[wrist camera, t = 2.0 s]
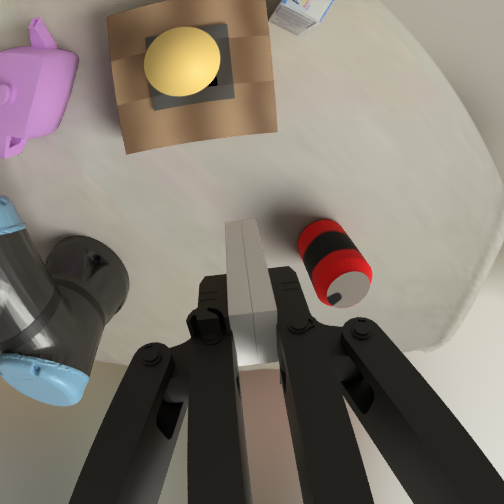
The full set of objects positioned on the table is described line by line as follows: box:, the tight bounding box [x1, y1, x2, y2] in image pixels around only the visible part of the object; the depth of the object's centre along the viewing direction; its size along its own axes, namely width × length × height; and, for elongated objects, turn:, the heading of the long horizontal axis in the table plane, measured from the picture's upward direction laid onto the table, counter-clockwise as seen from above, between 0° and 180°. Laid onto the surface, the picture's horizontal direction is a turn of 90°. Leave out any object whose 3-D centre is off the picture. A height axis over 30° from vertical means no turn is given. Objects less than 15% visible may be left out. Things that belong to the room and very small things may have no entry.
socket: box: [107, 0, 278, 155], centre depth 27 cm, size 16×16×8 cm
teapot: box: [0, 17, 79, 159], centre depth 23 cm, size 18×10×10 cm, turn 155°
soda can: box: [298, 220, 372, 308], centre depth 39 cm, size 8×8×12 cm
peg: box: [144, 27, 220, 96], centre depth 22 cm, size 6×6×8 cm
